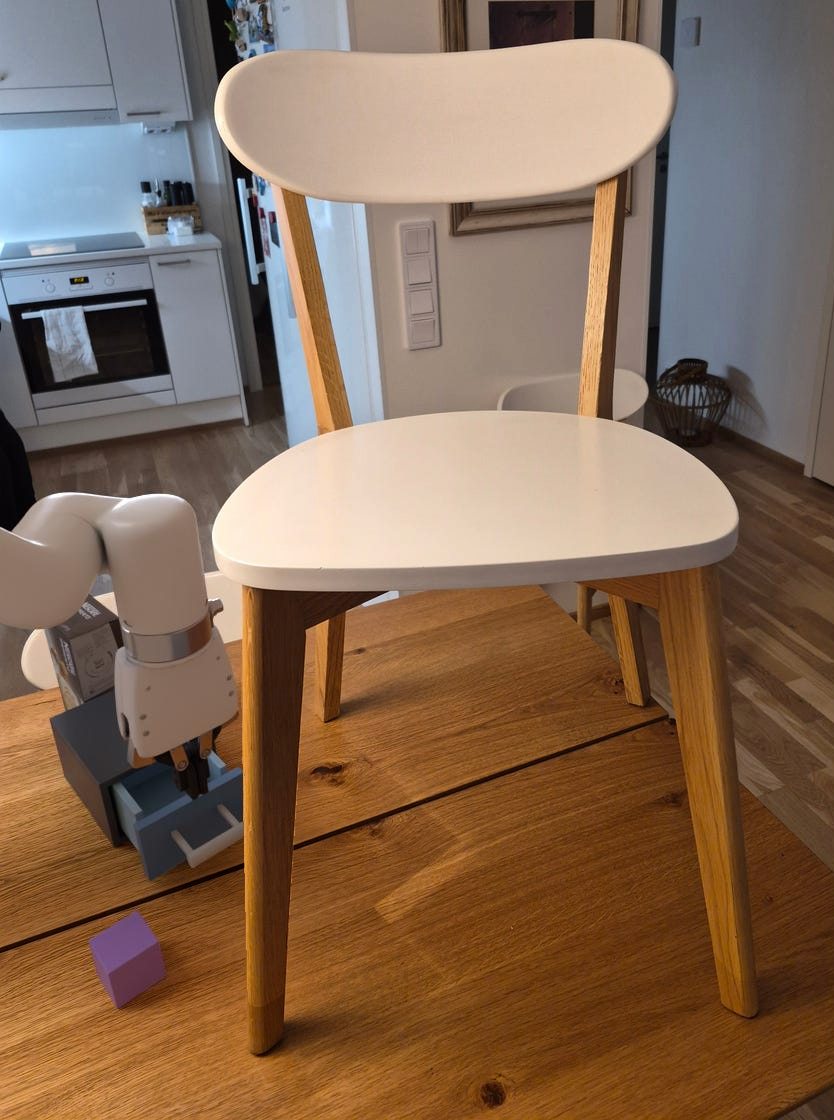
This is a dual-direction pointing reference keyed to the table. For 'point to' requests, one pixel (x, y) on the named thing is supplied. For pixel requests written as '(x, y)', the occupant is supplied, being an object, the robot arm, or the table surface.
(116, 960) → the cube
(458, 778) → the table surface
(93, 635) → the coffee box
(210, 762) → the blue drawer
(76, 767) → the dark grey drawer cabinet
